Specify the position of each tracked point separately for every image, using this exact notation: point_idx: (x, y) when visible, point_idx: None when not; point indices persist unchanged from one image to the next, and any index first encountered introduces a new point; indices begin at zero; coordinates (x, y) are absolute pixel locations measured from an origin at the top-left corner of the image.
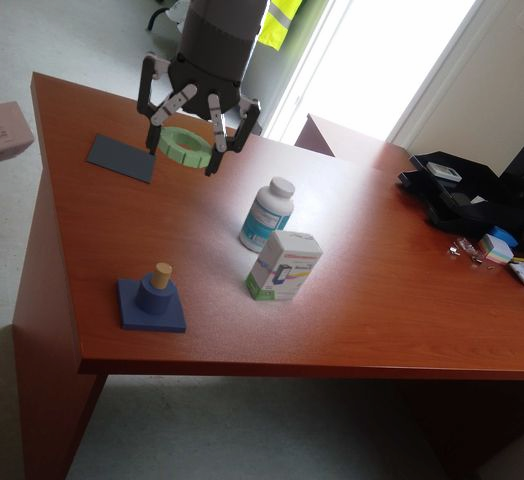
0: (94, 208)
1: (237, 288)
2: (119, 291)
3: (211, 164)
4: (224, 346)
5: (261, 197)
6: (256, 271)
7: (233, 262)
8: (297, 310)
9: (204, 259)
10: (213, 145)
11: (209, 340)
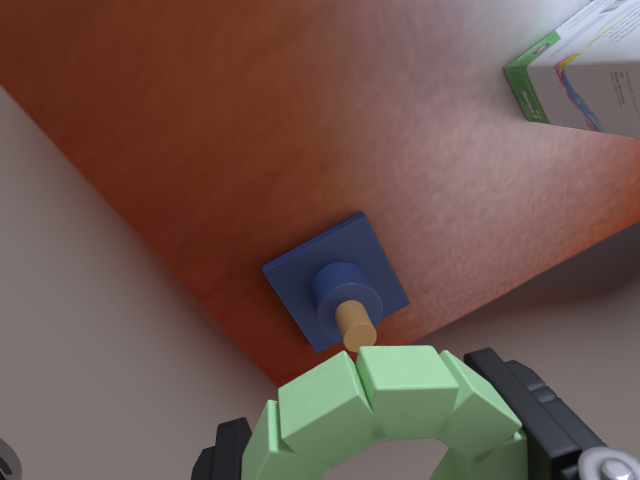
0: (82, 51)
1: (486, 107)
2: (280, 299)
3: None
4: (473, 282)
5: None
6: (547, 90)
7: (470, 3)
8: None
9: (396, 52)
10: (540, 454)
11: (447, 285)
